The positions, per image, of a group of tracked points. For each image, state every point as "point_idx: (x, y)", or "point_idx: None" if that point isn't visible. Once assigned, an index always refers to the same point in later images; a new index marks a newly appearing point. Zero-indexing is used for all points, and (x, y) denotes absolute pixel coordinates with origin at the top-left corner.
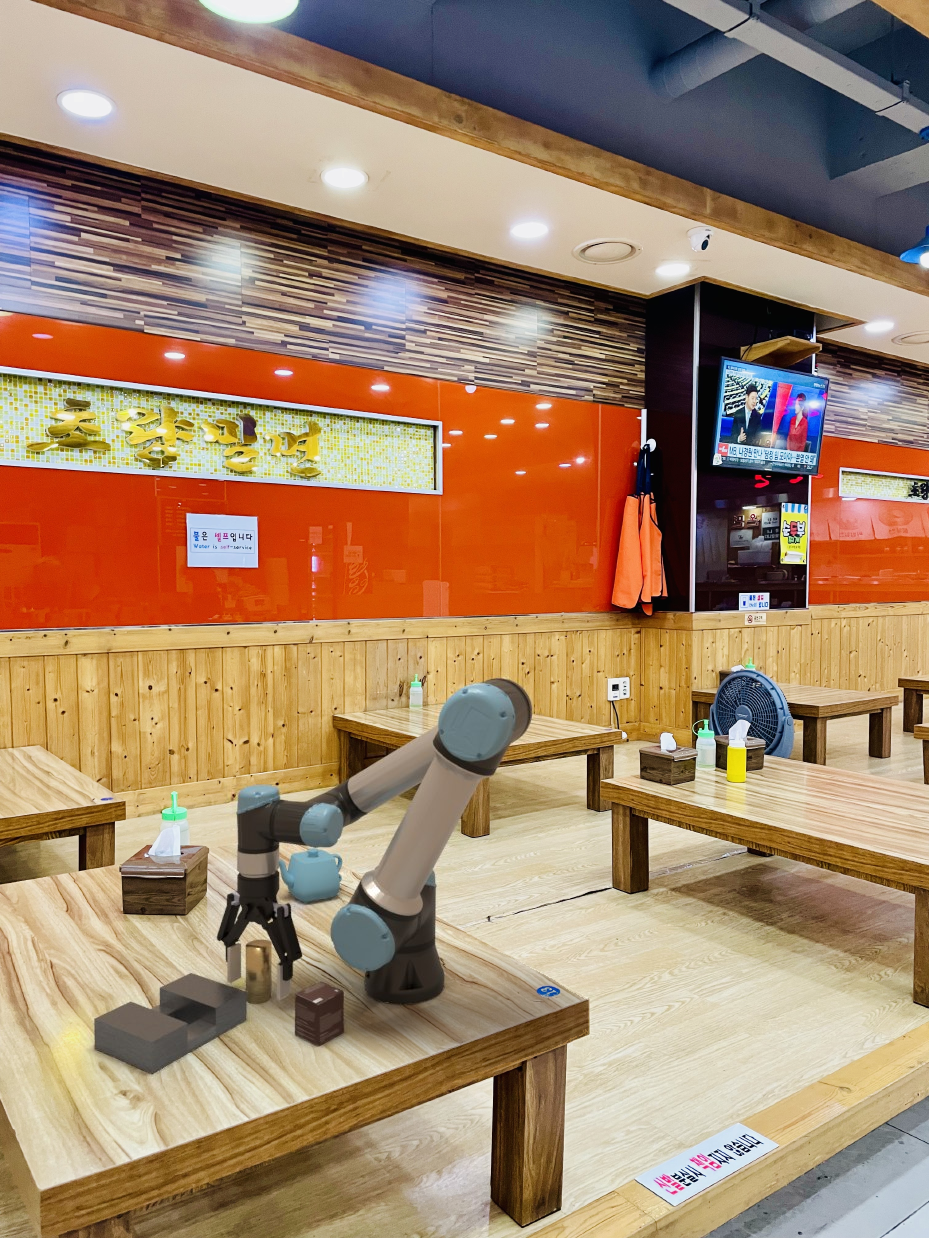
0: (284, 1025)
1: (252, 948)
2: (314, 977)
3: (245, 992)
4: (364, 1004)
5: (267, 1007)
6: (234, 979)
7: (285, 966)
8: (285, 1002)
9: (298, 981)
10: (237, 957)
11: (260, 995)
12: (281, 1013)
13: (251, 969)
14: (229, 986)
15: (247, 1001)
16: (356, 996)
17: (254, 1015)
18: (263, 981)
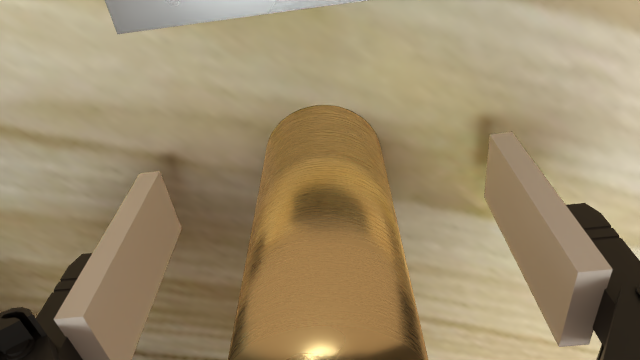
0: (3, 74)
1: (300, 340)
2: None
3: (115, 23)
4: None
5: (218, 130)
6: (490, 164)
7: (50, 321)
8: (204, 198)
9: None
10: (529, 258)
11: (268, 152)
12: (123, 134)
13: (297, 211)
14: (285, 3)
15: (332, 106)
16: None
17: (190, 45)
18: (256, 205)
